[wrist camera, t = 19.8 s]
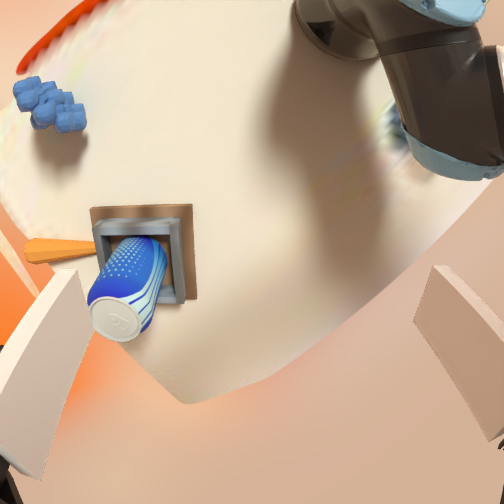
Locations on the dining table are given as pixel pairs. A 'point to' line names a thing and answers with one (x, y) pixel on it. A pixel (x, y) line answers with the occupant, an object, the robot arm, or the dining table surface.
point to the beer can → (128, 288)
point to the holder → (159, 228)
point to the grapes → (49, 105)
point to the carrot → (56, 249)
